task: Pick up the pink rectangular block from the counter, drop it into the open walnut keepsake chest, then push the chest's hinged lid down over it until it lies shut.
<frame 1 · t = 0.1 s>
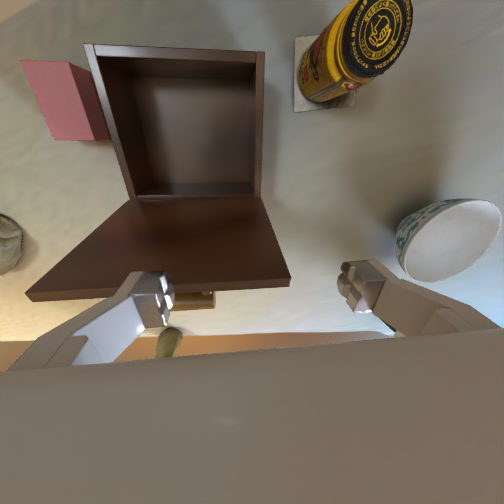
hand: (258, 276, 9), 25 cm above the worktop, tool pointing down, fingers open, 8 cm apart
chinaware: (412, 226, 39), on the worktop
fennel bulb: (171, 331, 47), on the worktop
pink rectangular block: (81, 107, 25), on the worktop
condiment: (325, 74, 26), on the worktop
chest lid: (190, 248, 19), point 15 cm above the worktop, hinge at 95.0°
chest: (198, 136, 28), on the worktop
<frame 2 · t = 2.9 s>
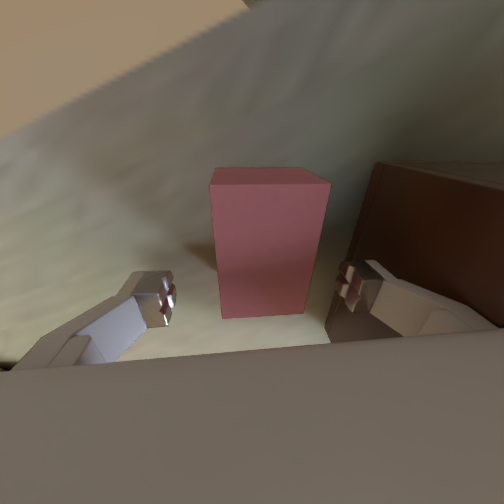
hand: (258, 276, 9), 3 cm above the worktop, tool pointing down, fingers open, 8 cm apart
pink rectangular block: (257, 229, 12), on the worktop
chest: (443, 261, 15), on the worktop
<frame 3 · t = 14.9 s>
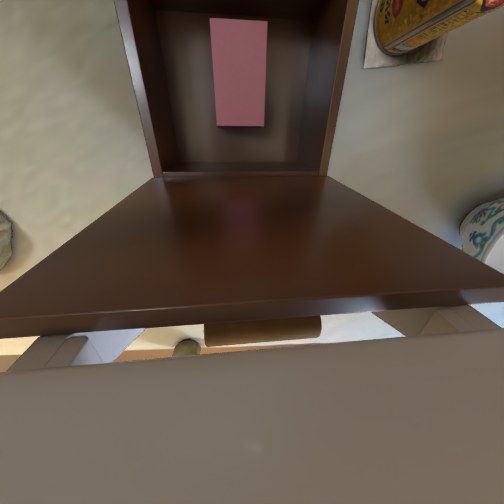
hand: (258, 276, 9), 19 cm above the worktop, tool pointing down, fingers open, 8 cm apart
chinaware: (479, 221, 33), on the worktop
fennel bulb: (188, 343, 41), on the worktop
pink rectangular block: (238, 87, 20), point 1 cm above the worktop, touching chest
condiment: (409, 16, 20), on the worktop
chest lid: (251, 239, 13), point 15 cm above the worktop, hinge at 93.2°, touching gripper
chest: (238, 100, 21), on the worktop
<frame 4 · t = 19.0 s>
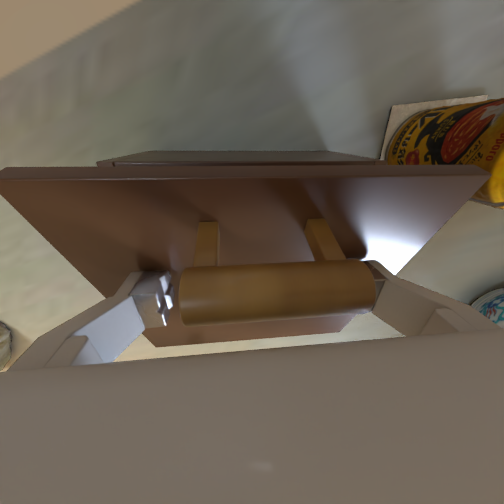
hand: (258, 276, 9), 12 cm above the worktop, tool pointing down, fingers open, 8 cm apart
chinaware: (487, 303, 32), on the worktop
condiment: (422, 148, 19), on the worktop
chest lid: (258, 319, 11), point 12 cm above the worktop, hinge at 17.5°, touching gripper
chest: (243, 224, 21), on the worktop
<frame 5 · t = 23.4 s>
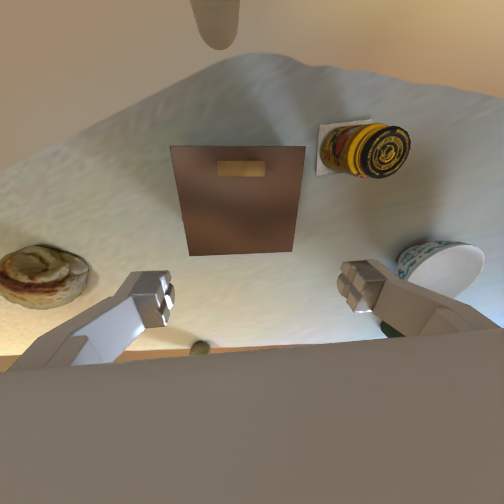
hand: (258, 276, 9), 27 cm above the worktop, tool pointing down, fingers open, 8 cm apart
character mug: (389, 322, 57), on the worktop
pastry: (53, 270, 38), on the worktop
chinaware: (411, 257, 45), on the worktop
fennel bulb: (200, 344, 54), on the worktop
condiment: (342, 148, 32), on the worktop
chest lid: (241, 211, 25), point 10 cm above the worktop, hinge at 0.8°
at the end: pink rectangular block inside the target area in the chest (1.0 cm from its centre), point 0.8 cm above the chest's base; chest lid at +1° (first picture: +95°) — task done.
